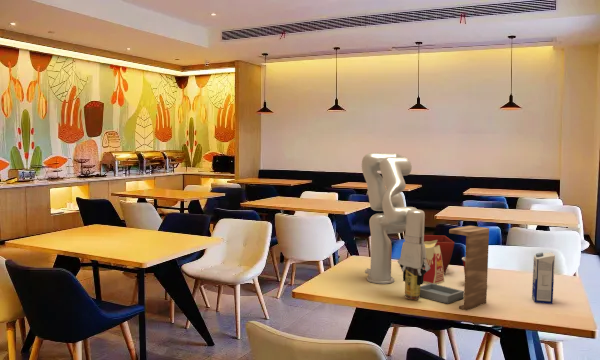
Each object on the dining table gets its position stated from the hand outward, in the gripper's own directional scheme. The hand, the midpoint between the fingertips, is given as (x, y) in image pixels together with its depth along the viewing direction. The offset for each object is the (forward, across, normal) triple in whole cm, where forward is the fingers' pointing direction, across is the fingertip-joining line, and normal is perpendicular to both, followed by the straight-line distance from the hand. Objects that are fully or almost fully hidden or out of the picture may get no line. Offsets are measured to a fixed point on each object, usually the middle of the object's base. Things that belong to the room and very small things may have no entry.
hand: (412, 282), depth 215 cm
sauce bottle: (+7, 0, 0) cm, 7 cm away
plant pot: (+8, -23, +46) cm, 52 cm away
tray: (+7, +6, +10) cm, 14 cm away
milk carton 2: (+7, +36, +39) cm, 54 cm away
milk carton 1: (+7, -11, +29) cm, 32 cm away
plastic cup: (+7, +5, +39) cm, 40 cm away
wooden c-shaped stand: (+7, +18, +11) cm, 22 cm away
